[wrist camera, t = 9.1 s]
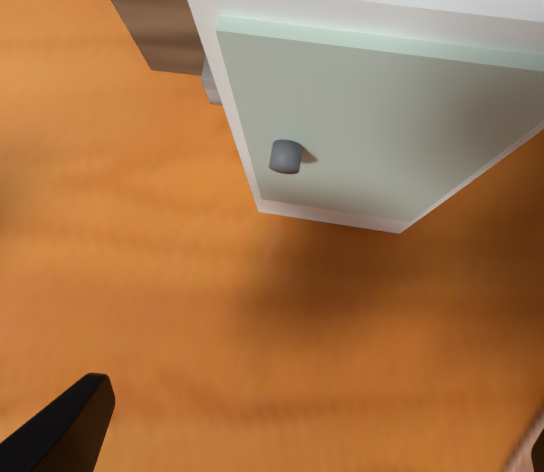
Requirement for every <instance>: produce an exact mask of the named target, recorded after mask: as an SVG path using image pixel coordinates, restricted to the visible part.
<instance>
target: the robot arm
mask: <svg viewBox="0 0 544 472" xmlns="http://www.w3.org/2000/svg"><path fill="white" fill-rule="evenodd" d="M114 407H115V395H114V392H113V389H112V385H111V382H110V379H109V377H108V376H107V375H106V374H100V373H88V374H86V375H85V376H83V377H82V378H81V379H80V380H78V381H77V382H76V383H75V384H73V385H72V386H71V387H70V388H68V389H67V390H66V391H65V392H63V393H62V394H61V395H60V396H58V397H57V398H56V399H55V400H53V401H52V402H51V403H50V404H49V405H47V406H46V407H45V408H44V409H42V410H41V411H40V412H39V413H37V414H36V415H35V416H34V417H32V418H31V419H30V420H29V421H27V422H26V423H25V424H24V425H22V426H21V427H20V428H19V429H17V430H16V431H15V432H14V433H12V434H11V435H10V436H9V437H7V438H6V439H5V440H4V441H3V442H1V443H0V472H93V471H94V468H95V465H96V462H97V459H98V456H99V453H100V450H101V447H102V444H103V441H104V438H105V435H106V432H107V429H108V426H109V423H110V420H111V417H112V414H113V411H114ZM531 458H532V463H533V468H534V472H544V429H543V430H542V432H541V434H540V435H539V437H538V439H537V440H536V442H535V444H534V445H533V447H532V451H531Z"/></svg>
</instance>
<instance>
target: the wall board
mask: <svg viewBox="0 0 544 472" xmlns="http://www.w3.org/2000/svg"><path fill="white" fill-rule="evenodd" d="M111 1H112V3H113V5H114V6H115V8H116V10H117V12H118V13H119V15H120V17H121V18H122V20H123V22H124V24H125V25H126V27H127V29H128V31H129V32H130V34H131V36H132V37H133V39H134V41H135V43H136V44H137V46H138V48H139V49H140V51H141V53H142V55H143V56H144V58H145V60H146V62H147V63H148V65H149V67H150V68H151V70H157V71H166V72H174V73H183V74H192V75H201V82H202V84H203V87H204V89H205V92H206V94H207V97H208V99H209V102H210V103H211V104H220V105H222V102H221V99H220V96H219V93H218V90H217V87H216V84H215V81H214V78H213V75H212V72H211V69H210V66H209V63H208V60H207V57H206V54H205V51H204V48H203V45H202V42H201V39H200V36H199V33H198V30H197V27H196V24H195V21H194V18H193V15H192V12H191V9H190V6H189V3H188V1H187V0H111Z"/></svg>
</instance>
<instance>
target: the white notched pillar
mask: <svg viewBox="0 0 544 472" xmlns="http://www.w3.org/2000/svg"><path fill="white" fill-rule="evenodd" d="M187 1H188V3H189V6H190V9H191V12H192V15H193V18H194V21H195V24H196V27H197V30H198V33H199V36H200V39H201V42H202V45H203V48H204V51H205V54H206V57H207V60H208V63H209V66H210V69H211V72H212V75H213V78H214V81H215V84H216V87H217V90H218V93H219V96H220V99H221V102H222V105H223V107H224V110H225V113H226V116H227V119H228V122H229V125H230V128H231V131H232V134H233V137H234V140H235V143H236V146H237V149H238V152H239V155H240V158H241V161H242V164H243V167H244V170H245V173H246V176H247V179H248V182H249V185H250V188H251V191H252V194H253V197H254V200H255V203H256V206H257V209H258V211H259V212H263V213H269V214H276V215H282V216H288V217H295V218H301V219H307V220H314V221H320V222H327V223H333V224H339V225H346V226H352V227H358V228H365V229H371V230H377V231H384V232H390V233H397V234H400V233H401V232H403V231H404V230H406V229H407V228H408V227H410V226H411V225H412V224H414V223H415V222H417V221H418V220H419V219H421V218H422V217H423V216H425V215H426V214H428V213H429V212H430V211H432V210H433V209H434V208H436V207H437V206H439V205H440V204H441V203H443V202H444V201H445V200H447V199H448V198H450V197H451V196H452V195H454V194H455V193H456V192H458V191H459V190H461V189H462V188H463V187H465V186H466V185H467V184H469V183H470V182H472V181H473V180H474V179H476V178H477V177H478V176H480V175H481V174H483V173H484V172H485V171H487V170H488V169H489V168H491V167H492V166H494V165H495V164H496V163H498V162H499V161H500V160H502V159H503V158H505V157H506V156H507V155H509V154H510V153H511V152H513V151H514V150H516V149H517V148H518V147H520V146H521V145H523V144H524V143H525V142H527V141H528V140H529V139H531V138H532V137H534V136H535V135H536V134H538V133H539V132H540V131H542V130H543V129H544V0H187Z"/></svg>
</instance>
